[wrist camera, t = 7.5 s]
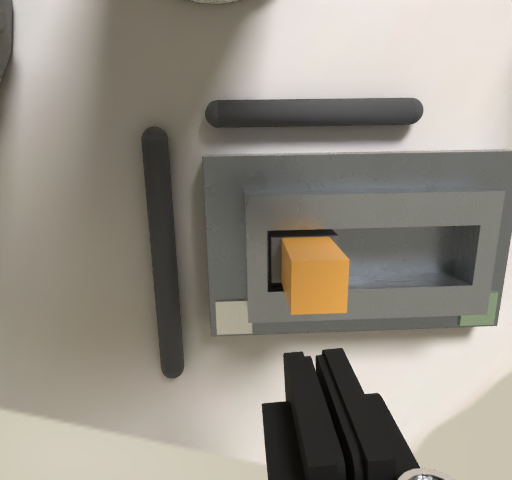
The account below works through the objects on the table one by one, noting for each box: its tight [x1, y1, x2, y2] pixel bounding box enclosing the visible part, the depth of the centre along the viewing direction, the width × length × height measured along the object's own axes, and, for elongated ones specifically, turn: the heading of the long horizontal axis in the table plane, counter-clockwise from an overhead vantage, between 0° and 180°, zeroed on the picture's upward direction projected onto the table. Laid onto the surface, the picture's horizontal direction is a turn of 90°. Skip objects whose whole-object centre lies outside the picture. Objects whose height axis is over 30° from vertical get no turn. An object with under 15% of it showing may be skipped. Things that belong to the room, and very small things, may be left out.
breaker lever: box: [269, 229, 349, 315], centre depth 23 cm, size 3×4×6 cm
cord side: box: [205, 98, 423, 128], centre depth 25 cm, size 14×2×2 cm, turn 91°
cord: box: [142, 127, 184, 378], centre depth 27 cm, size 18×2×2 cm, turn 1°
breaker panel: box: [202, 150, 512, 336], centre depth 26 cm, size 12×20×4 cm, turn 91°
